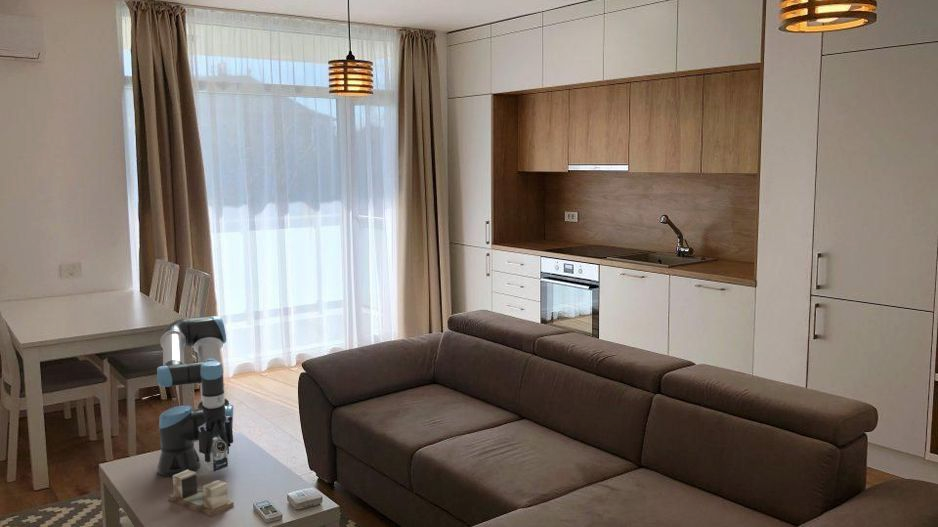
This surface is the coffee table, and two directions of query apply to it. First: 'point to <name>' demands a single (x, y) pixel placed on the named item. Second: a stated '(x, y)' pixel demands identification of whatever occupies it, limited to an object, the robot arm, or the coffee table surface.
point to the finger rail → (200, 494)
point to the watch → (219, 454)
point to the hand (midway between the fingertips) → (217, 466)
